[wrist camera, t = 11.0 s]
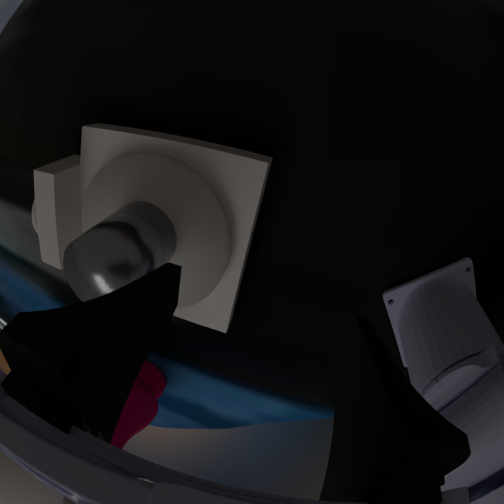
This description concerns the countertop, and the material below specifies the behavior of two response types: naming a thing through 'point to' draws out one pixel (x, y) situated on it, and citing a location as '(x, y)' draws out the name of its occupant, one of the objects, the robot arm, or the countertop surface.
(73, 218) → the scale
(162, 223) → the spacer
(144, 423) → the pepper mill
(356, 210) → the countertop surface
